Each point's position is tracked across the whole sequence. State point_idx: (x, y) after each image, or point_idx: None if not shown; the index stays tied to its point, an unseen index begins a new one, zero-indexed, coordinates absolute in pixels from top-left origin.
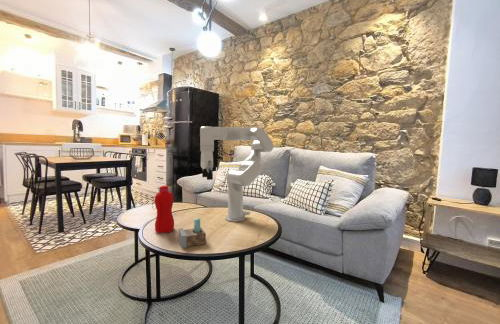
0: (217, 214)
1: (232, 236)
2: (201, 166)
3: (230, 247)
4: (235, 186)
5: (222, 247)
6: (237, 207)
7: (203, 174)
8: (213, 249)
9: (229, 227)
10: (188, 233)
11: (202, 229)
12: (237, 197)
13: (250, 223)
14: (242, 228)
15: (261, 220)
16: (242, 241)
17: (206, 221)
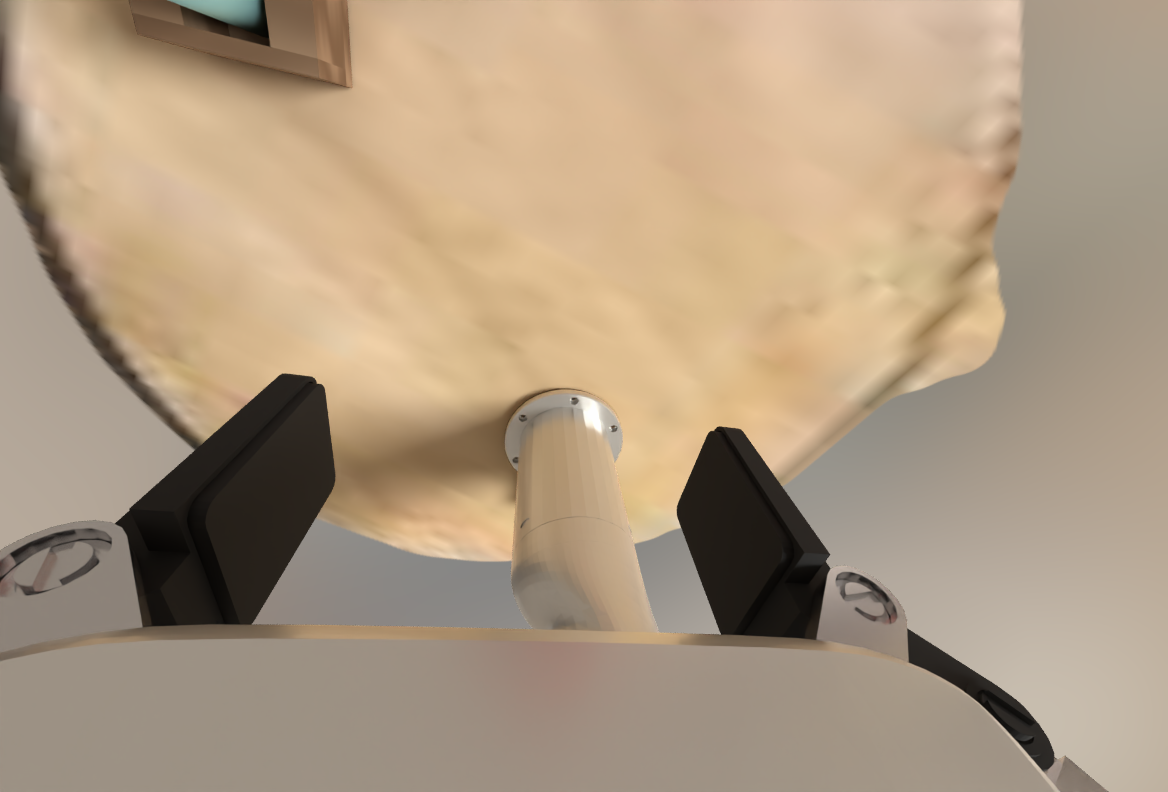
0: (700, 392)
1: (288, 287)
2: (784, 703)
3: (100, 183)
4: (548, 626)
5: (109, 134)
6: (518, 485)
7: (728, 482)
8: (80, 53)
9: (444, 344)
10: None
11: (252, 59)
12: (514, 543)
13: (449, 461)
14: (394, 395)
15: (463, 519)
16: (187, 296)
17: (630, 275)
